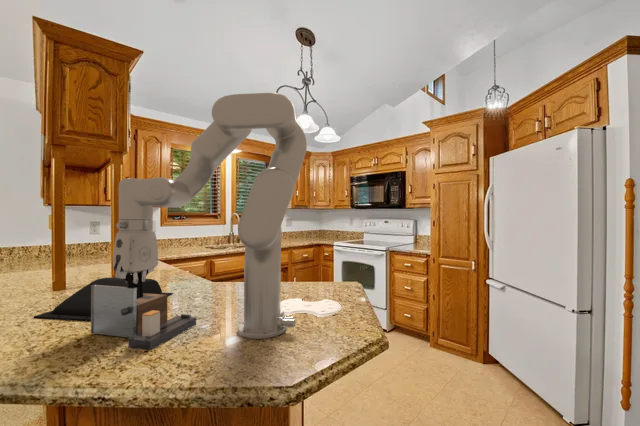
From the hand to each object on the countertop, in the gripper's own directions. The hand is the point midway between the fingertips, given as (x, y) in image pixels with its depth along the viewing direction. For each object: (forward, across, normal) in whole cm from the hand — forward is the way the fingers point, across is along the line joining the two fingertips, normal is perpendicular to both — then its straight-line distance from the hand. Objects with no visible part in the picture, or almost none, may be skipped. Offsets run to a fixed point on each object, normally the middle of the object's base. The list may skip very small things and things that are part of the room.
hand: (135, 297), depth 76 cm
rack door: (+9, -4, +3) cm, 10 cm away
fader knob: (+7, -4, -9) cm, 12 cm away
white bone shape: (+10, +31, -38) cm, 50 cm away
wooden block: (+9, +3, +4) cm, 10 cm away
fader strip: (+9, +1, -8) cm, 12 cm away
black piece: (+10, +18, +28) cm, 35 cm away
